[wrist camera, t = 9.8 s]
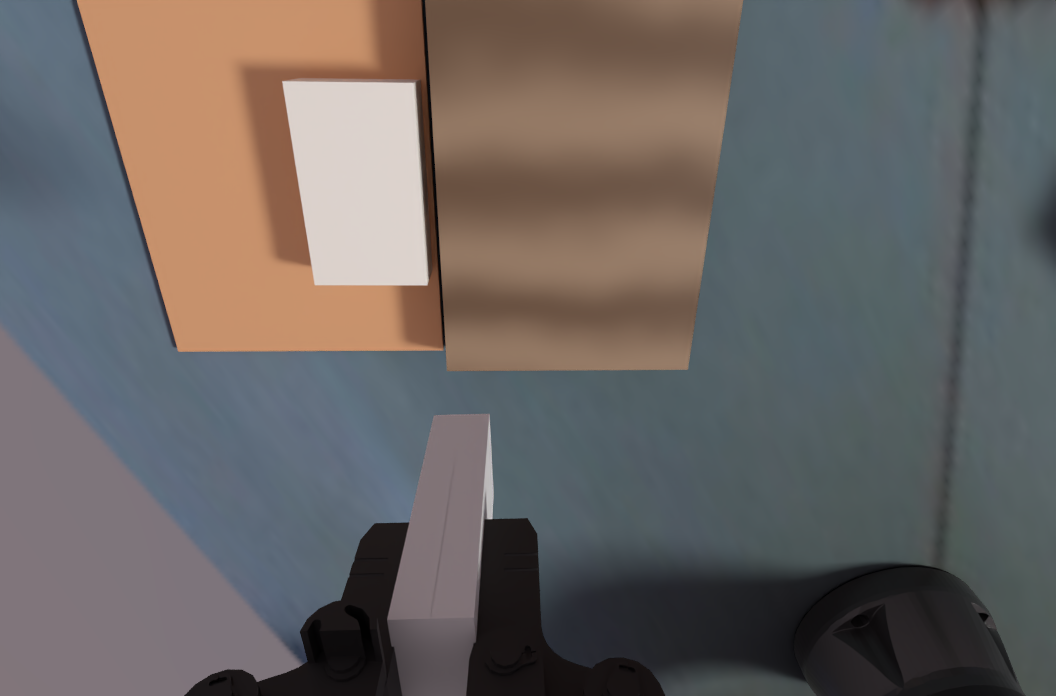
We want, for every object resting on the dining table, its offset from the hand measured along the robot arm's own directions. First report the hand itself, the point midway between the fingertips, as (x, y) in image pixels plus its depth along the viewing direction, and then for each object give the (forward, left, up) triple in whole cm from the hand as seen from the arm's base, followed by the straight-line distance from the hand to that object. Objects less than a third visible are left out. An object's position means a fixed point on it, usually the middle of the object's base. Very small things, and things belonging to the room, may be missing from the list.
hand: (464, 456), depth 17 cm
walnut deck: (+3, -5, -20) cm, 21 cm away
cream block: (+3, +6, -20) cm, 21 cm away
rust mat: (+3, +11, -20) cm, 23 cm away
